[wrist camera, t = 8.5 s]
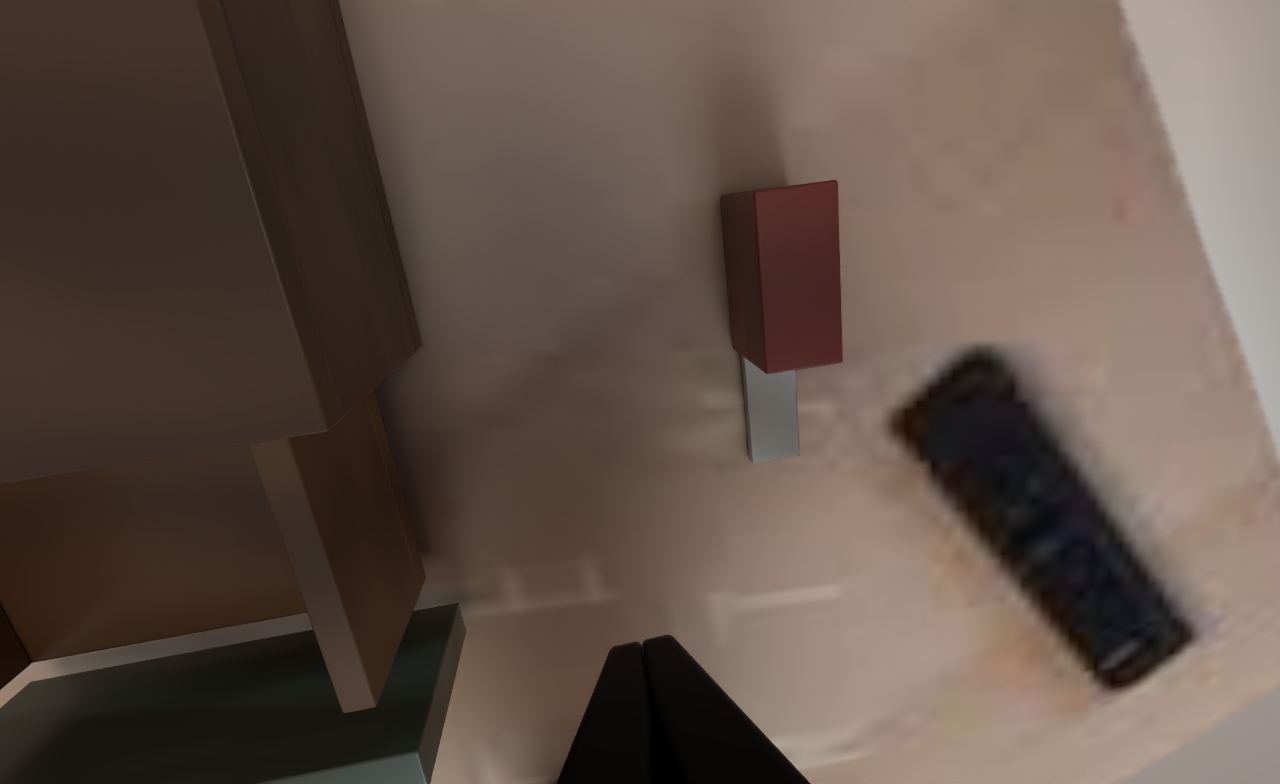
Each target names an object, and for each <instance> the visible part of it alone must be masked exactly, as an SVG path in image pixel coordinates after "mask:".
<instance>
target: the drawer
mask: <svg viewBox="0 0 1280 784" xmlns="http://www.w3.org/2000/svg"><path fill="white" fill-rule="evenodd" d="M425 578H426V576H425V573H424V569H423V565H422V562H421V558H420V555H419V551H418V547H417V544H416V540H415V536H414V533H413V529H412V526H411V522H410V518H409V515H408V511H407V507H406V504H405V500H404V497H403V493H402V489H401V486H400V482H399V478H398V475H397V471H396V468H395V464H394V460H393V457H392V453H391V449H390V446H389V442H388V439H387V435H386V431H385V428H384V424H383V420H382V417H381V413H380V410H379V406H378V402H377V399H376V395H375V391H374V390H373V391H372V392H371V393H369V394H368V395H367V396H366V397H365V398H364V399H363V400H362V401H361V402H359V403H358V404H357V405H356V406H355V407H354V408H353V409H352V410H351V411H350V412H348V413H347V414H346V415H345V416H344V417H342V419H341V420H340V421H339V422H338V423H337V424H336V425H335V426H333V427H332V428H331V429H330V430H329V431H327V432H323V433H317V434H310V435H304V436H298V437H291V438H285V439H279V440H273V441H266V442H260V443H254V444H247V445H241V446H235V447H229V448H222V449H216V450H210V451H204V452H197V453H191V454H185V455H178V456H172V457H166V458H160V459H153V460H147V461H141V462H134V463H128V464H122V465H116V466H109V467H103V468H97V469H90V470H84V471H78V472H72V473H65V474H59V475H53V476H46V477H40V478H34V479H28V480H21V481H15V482H9V483H3V484H0V689H2V688H3V687H4V686H5V685H6V684H8V683H9V682H10V681H11V680H12V679H14V678H15V677H16V676H17V675H18V674H20V673H21V672H22V671H23V670H24V669H26V668H27V667H28V666H29V665H30V664H31V663H33V662H38V661H44V660H49V659H55V658H60V657H66V656H71V655H77V654H82V653H88V652H93V651H99V650H104V649H109V648H115V647H120V646H126V645H131V644H137V643H142V642H148V641H153V640H159V639H164V638H170V637H175V636H181V635H186V634H192V633H197V632H203V631H208V630H214V629H219V628H225V627H230V626H236V625H241V624H247V623H252V622H258V621H263V620H269V619H274V618H280V617H285V616H291V615H296V614H302V613H308V616H309V619H310V621H311V624H312V627H313V630H309V631H303V632H298V633H292V634H287V635H281V636H276V637H271V638H265V639H260V640H254V641H249V642H244V643H238V644H233V645H227V646H222V647H216V648H211V649H206V650H200V651H195V652H189V653H184V654H179V655H173V656H168V657H162V658H157V659H151V660H146V661H141V662H135V663H130V664H124V665H119V666H114V667H108V668H103V669H97V670H92V671H86V672H81V673H76V674H70V675H65V676H59V677H54V678H49V679H43V680H38V681H32V682H30V683H29V684H28V685H26V686H25V687H24V688H23V689H22V690H21V691H20V692H18V693H17V694H16V695H15V696H14V697H13V698H12V699H10V700H9V701H8V702H7V703H6V704H5V705H4V706H2V707H1V708H0V784H430V782H431V777H432V773H433V769H434V765H435V761H436V756H437V752H438V748H439V744H440V739H441V735H442V731H443V727H444V723H445V718H446V714H447V710H448V706H449V701H450V697H451V693H452V689H453V685H454V680H455V676H456V672H457V668H458V663H459V659H460V655H461V651H462V647H463V642H464V638H465V634H466V629H465V625H464V621H463V617H462V614H461V610H460V606H459V603H455V604H449V605H444V606H438V607H433V608H428V609H422V610H417V611H413V609H414V607H415V604H416V602H417V599H418V596H419V594H420V591H421V589H422V586H423V583H424V581H425Z"/></svg>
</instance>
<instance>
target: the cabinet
mask: <svg viewBox="0 0 1280 784" xmlns="http://www.w3.org/2000/svg"><path fill="white" fill-rule="evenodd" d="M421 346H422V343H421V339H420V334H419V330H418V326H417V322H416V318H415V314H414V310H413V306H412V302H411V298H410V294H409V289H408V285H407V281H406V277H405V273H404V269H403V265H402V261H401V257H400V253H399V249H398V245H397V240H396V236H395V232H394V228H393V224H392V220H391V216H390V212H389V208H388V204H387V200H386V195H385V191H384V187H383V183H382V179H381V175H380V171H379V167H378V163H377V159H376V155H375V151H374V146H373V142H372V138H371V134H370V130H369V126H368V122H367V118H366V114H365V110H364V106H363V101H362V97H361V93H360V89H359V85H358V81H357V77H356V73H355V69H354V65H353V61H352V57H351V52H350V48H349V44H348V40H347V36H346V32H345V28H344V24H343V20H342V16H341V12H340V7H339V3H338V0H0V484H3V483H9V482H15V481H21V480H28V479H34V478H40V477H46V476H53V475H59V474H65V473H72V472H78V471H84V470H90V469H97V468H103V467H109V466H116V465H122V464H128V463H134V462H141V461H147V460H153V459H160V458H166V457H172V456H178V455H185V454H191V453H197V452H204V451H210V450H216V449H222V448H229V447H235V446H241V445H247V444H254V443H260V442H266V441H273V440H279V439H285V438H291V437H298V436H304V435H310V434H317V433H323V432H327V431H329V430H330V429H331V428H332V427H333V426H335V425H336V424H337V423H338V422H339V421H340V420H341V419H342V417H344V416H345V415H346V414H347V413H348V412H350V411H351V410H352V409H353V408H354V407H355V406H356V405H357V404H358V403H359V402H361V401H362V400H363V399H364V398H365V397H366V396H367V395H368V394H369V393H371V392H372V391H373V390H374V389H375V388H376V387H377V386H378V385H379V384H380V383H382V382H383V381H384V380H385V379H386V378H387V377H388V376H389V375H390V374H391V373H393V372H394V371H395V370H396V369H397V368H398V367H399V366H400V365H401V364H403V363H404V362H405V361H406V360H407V359H408V358H409V357H410V356H411V355H412V354H414V353H415V351H417V350H418V349H419V348H420V347H421Z"/></svg>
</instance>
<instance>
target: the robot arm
mask: <svg viewBox="0 0 1280 784" xmlns="http://www.w3.org/2000/svg"><path fill="white" fill-rule="evenodd" d="M642 648H643V650H642ZM643 653H644V655H643ZM644 659H645V660H644ZM646 670H647V671H646ZM661 751H662V752H661ZM662 756H663V757H662ZM556 784H810V783H809V781H808V780H807V779H806V778H805V777H804V776H803V775H802V774H801V773H800V772H799V771H798V770H797V769H796V768H795V766H794V765H793V764H792V763H791V762H790V761H789V760H788V759H787V758H786V757H785V756H784V755H783V754H782V753H781V751H780V750H779V749H778V748H777V747H776V746H775V745H774V744H773V743H772V742H771V741H770V740H769V739H768V738H767V737H766V735H765V734H764V733H763V732H762V731H761V730H760V729H759V728H758V727H757V726H756V725H755V724H754V723H753V722H752V720H751V719H750V718H749V717H748V716H747V715H746V714H745V713H744V712H743V711H742V710H741V709H740V708H739V707H738V706H737V704H736V703H735V702H734V701H733V700H732V699H731V698H730V697H729V696H728V695H727V694H726V693H725V692H724V691H723V689H722V688H721V687H720V686H719V685H718V684H717V683H716V682H715V681H714V680H713V679H712V678H711V677H710V676H709V674H708V673H707V672H706V671H705V670H704V669H703V668H702V667H701V666H700V665H699V664H698V663H697V662H696V661H695V660H694V658H693V657H692V656H691V655H690V654H689V653H688V652H687V651H686V650H685V649H684V648H683V647H682V646H681V645H680V643H679V642H678V641H677V640H676V639H675V638H674V637H673V636H671V635H664V636H659V637H654V638H650V639H646V640H644V641H643V644H642V645H641V644H640V643H639V642H631V643H627V644H622V645H618V646H614V647H612V648H611V649H610V651H609V653H608V656H607V658H606V661H605V663H604V666H603V668H602V671H601V673H600V676H599V678H598V681H597V683H596V686H595V688H594V691H593V693H592V696H591V698H590V701H589V703H588V706H587V708H586V711H585V713H584V716H583V718H582V721H581V723H580V726H579V728H578V731H577V733H576V736H575V738H574V741H573V743H572V746H571V748H570V751H569V753H568V756H567V758H566V761H565V763H564V766H563V768H562V771H561V773H560V776H559V778H558V781H557V783H556Z"/></svg>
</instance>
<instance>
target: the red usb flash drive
mask: <svg viewBox="0 0 1280 784" xmlns="http://www.w3.org/2000/svg"><path fill="white" fill-rule="evenodd" d="M720 200H721V212H722V223H723V235H724V247H725V259H726V271H727V283H728V295H729V307H730V318H731V330H732V342H733V348H734V349H735V350H736V351H737V352H738V353H740V354H741V362H742V375H743V387H744V400H745V412H746V425H747V437H748V449H749V459H750V461H751V462H752V463H759V462H765V461H770V460H776V459H782V458H788V457H793V456H799V455H800V447H799V428H798V409H797V390H796V371H795V370H799V369H806V368H812V367H818V366H824V365H830V364H837V363H841V362H842V361H843V359H842V323H841V287H840V251H839V215H838V182H837V181H836V180H830V181H823V182H815V183H808V184H801V185H793V186H786V187H778V188H771V189H764V190H756V191H749V192H742V193H735V194H728V195H722V196H721V198H720Z"/></svg>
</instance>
